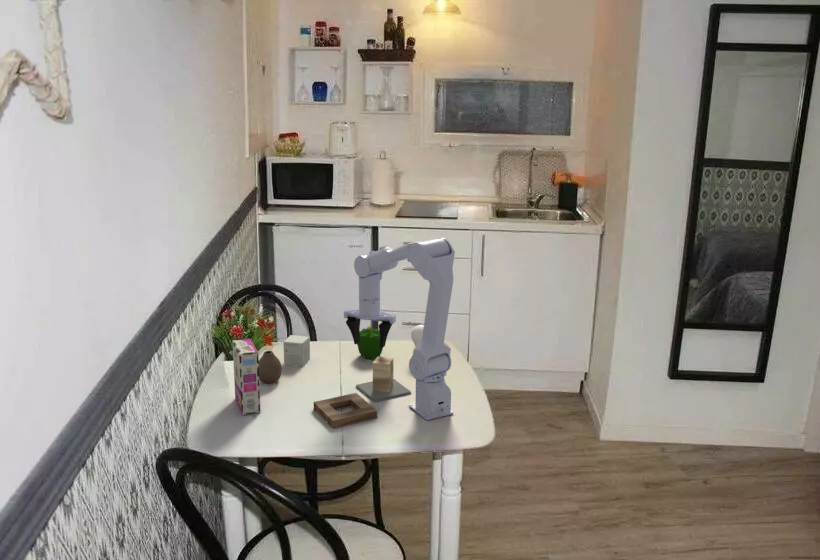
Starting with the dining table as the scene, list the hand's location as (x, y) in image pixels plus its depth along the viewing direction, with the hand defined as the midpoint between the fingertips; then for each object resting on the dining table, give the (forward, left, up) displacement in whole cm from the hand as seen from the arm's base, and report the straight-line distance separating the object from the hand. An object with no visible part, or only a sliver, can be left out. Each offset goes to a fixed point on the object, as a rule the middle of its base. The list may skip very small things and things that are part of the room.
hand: (369, 344), depth 207 cm
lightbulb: (+6, -20, -11) cm, 23 cm away
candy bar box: (0, +35, -11) cm, 37 cm away
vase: (+12, +25, -11) cm, 30 cm away
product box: (+22, +13, -11) cm, 28 cm away
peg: (-8, 0, -10) cm, 13 cm away
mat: (-8, 0, -10) cm, 13 cm away
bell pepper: (+16, -8, -11) cm, 21 cm away
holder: (-16, +15, -10) cm, 24 cm away
